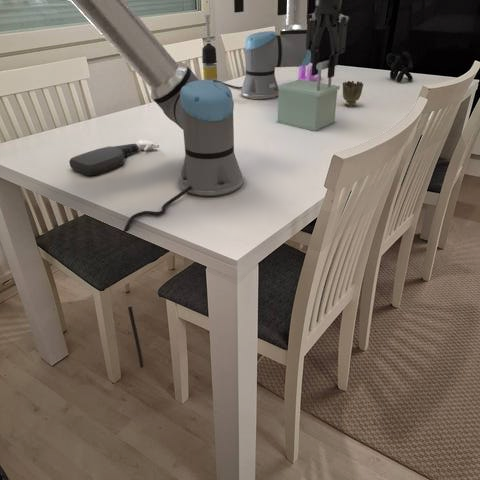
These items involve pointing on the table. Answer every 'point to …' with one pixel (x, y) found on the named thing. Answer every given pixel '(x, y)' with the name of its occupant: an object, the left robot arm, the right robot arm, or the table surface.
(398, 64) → the squiggle
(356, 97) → the cup
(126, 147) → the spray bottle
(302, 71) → the bracket
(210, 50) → the filter
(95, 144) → the table surface
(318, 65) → the lid
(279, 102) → the chest
